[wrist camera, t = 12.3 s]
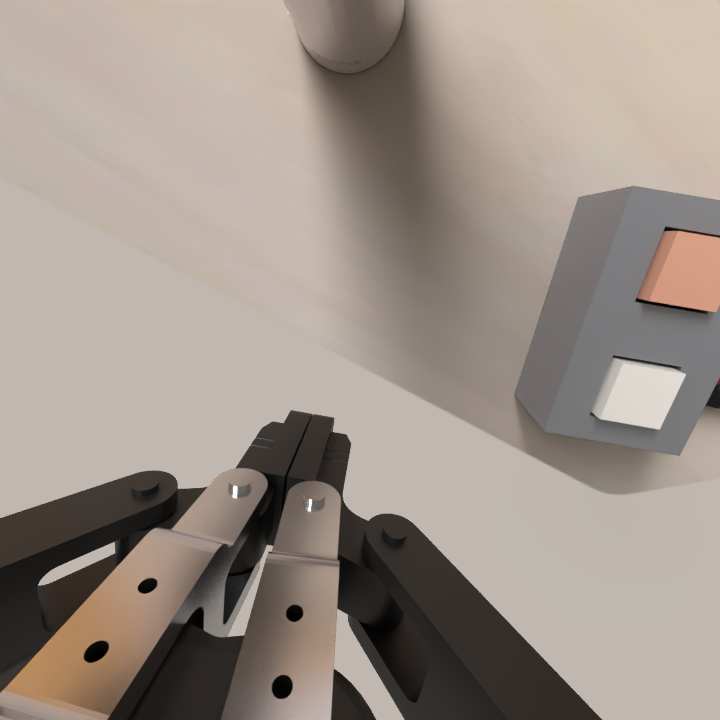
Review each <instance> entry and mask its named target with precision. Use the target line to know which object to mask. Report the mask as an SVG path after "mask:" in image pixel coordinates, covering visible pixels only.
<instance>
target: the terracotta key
mask: <svg viewBox="0 0 720 720" xmlns="http://www.w3.org/2000/svg"><path fill="white" fill-rule="evenodd" d="M637 298H639V299H643V300H647V301H652V302H658V303H664V304H670V305H675V306H681V307H687V308H693V309H699V310H705V311H711V312H717V310H718V308H719V305H720V238H717V237H711V236H705V235H699V234H693V233H688V232H682V231H663V233H662V236H661V238H660V241H659V243H658V246H657V248H656V251H655V253H654V256H653V258H652V261H651V263H650V266H649V268H648V271H647V273H646V276H645V278H644V281H643V283H642V286H641V288H640V290H639V293H638V295H637Z"/></svg>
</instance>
